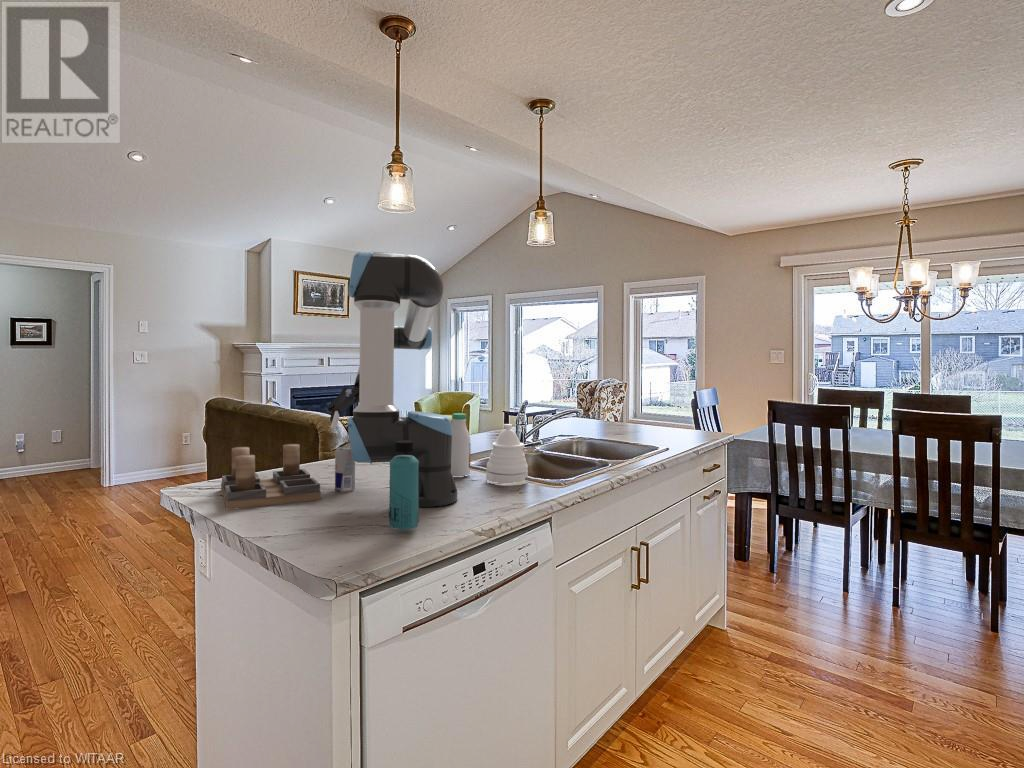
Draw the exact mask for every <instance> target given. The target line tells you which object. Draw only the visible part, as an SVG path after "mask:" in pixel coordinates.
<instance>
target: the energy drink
mask: <svg viewBox="0 0 1024 768" xmlns="http://www.w3.org/2000/svg"><path fill="white" fill-rule="evenodd" d="M334 459H335V460H334V462H335V463H334V491H336V492H337V491H339V492H338V493H343V492H344V493H349V492H348V491H351V492H354V491H355V490H356V461H354V460H353V458H352V454H351V447H350V446H337V447H336V448H335V452H334ZM353 490H354V491H353Z"/></svg>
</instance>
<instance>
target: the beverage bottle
mask: <svg viewBox="0 0 1024 768" xmlns="http://www.w3.org/2000/svg"><path fill="white" fill-rule="evenodd" d="M395 451H397V452H411V451H414V444H413V441H408V440H401V441H396V442H395ZM418 464H419V461H418V460H417V459H416V458H415V457H414V456H412V455H398V456H395V457H394V458H393V459H392V460H391V461H390V462H389V504H388V507H389V511H388V518H389V519H388V524H389V527H390V528H392V529H395V530H410V529H415V528H416V527H418V524H419V522H420V521H419V520H420V519H419V517H420V512H419V511H420V510H419V509H420V507H419V505H418V490H419V489H418Z"/></svg>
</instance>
